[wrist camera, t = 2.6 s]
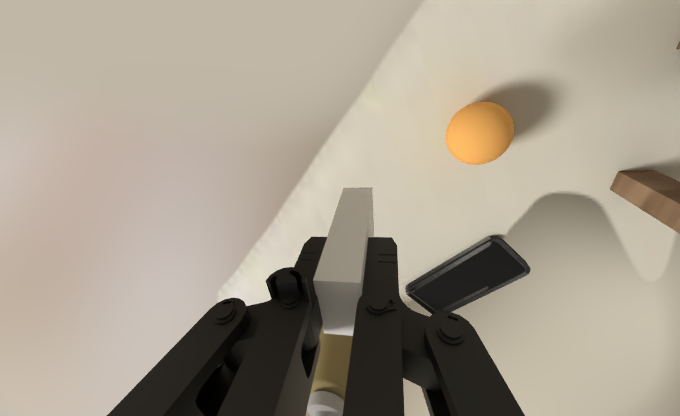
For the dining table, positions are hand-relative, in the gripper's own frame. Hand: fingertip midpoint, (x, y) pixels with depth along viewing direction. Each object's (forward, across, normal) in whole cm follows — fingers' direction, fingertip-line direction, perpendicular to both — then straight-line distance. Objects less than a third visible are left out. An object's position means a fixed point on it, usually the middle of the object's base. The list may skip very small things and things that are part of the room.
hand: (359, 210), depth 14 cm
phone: (+17, -12, +21) cm, 29 cm away
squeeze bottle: (+16, +6, +31) cm, 36 cm away
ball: (+14, -10, 0) cm, 17 cm away
